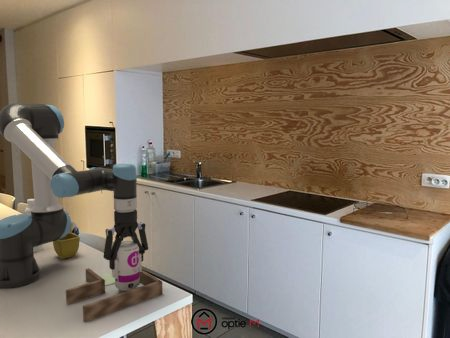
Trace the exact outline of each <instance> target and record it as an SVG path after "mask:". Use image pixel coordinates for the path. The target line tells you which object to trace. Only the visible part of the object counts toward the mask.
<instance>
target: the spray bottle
mask: <svg viewBox="0 0 450 338" xmlns="http://www.w3.org/2000/svg"><path fill="white" fill-rule="evenodd" d="M26 202H27V203H26V204H27V207H26V208H25V209H23V214H29V215H30V216H31V209H32V208H33V207H34V206H35V202H34V198H28V199H27V200H26ZM43 245H44V244H43ZM43 245H39V246H36V247H33V251H34V253H37V252H41V251H42V250H43V248H44V247H43Z"/></svg>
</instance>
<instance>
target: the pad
mask: <svg viewBox="0 0 450 338" xmlns="http://www.w3.org/2000/svg"><path fill="white" fill-rule="evenodd" d="M99 276H100V277H101V278H103V279H104V280H105V287H107V286H111V285H115V278H113V277H112V272H110V273H105V274H102V275H99Z"/></svg>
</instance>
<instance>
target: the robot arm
mask: <svg viewBox="0 0 450 338" xmlns="http://www.w3.org/2000/svg"><path fill="white" fill-rule="evenodd" d="M64 127H65V120H64V115H63V114H62V112H61V111H60V110H59V109H58V107H56V106H55V105H51V104H46V103H22V102H14V103H10V104H7V105H5V106H4V107H2V109H1V110H0V134H1V136H2V137H3V138H4V139H5V140H6V141H8V142H9V143H13V144H14V145H16V147H17V148H19V149H20V150H21V152H22V153H24V155H25V156H27V157H28V158H29V159H30V161H31V162H30V163H31V174H32V175H31V176H32V188H33V199H34V202H35V206H34V207H33V208H32V209H31V216H30V215H29V214H24V213H18V214H14V215H10V216H5V217H3V218H1V219H0V288H1V289H11V288H12V289H14V288H18V287H23V286H27V285H29V284H32V283H34V282H36V281H37V280H39V279H40V277H41V269H40V267H39V265H38V263H37V260H36V257H35V252H34V251H33V247H36V246H39V245H45V244H48V243H53V241H57V240H59V239H61V238H63V237H65V236H66V235H67V234H68V233H70V230H71V227H72V219H71V216H70V215H69V213H68V211H66V210H65V209H64V206H63V205H61V203H59V201H60V200H59V198H60V199H63V198H72V197H75V196H79V195H80V196H81V195H84V194H91V193H95V192H101V191H109V192H113V210H114V212H113V220H114V221H113V222H114V225H113V227H112V228H105V244H104V250H103V255H102V256H103V258H104V259H105V260H106V261H108V262H109V263H108V264H109V269H110V270H111V273H112V277H113V278H115V279H118V263H117V260H116V259H115V258H116V255H117V252H118V250H119V247H120V245H121V242H123V241H124V239H126V238H128V237H130V238H131V241H133V242H135V243H137V245H138V247H139V272H142V270H143V269H142V263H143V261H144V254H145V253H146V251H148V250H149V245H148V239H147V233H146V223H144V222H138V210H137V208H138V198H137V197H138V195H137V182H138V181H137V178H138V177H137V167H136V165H135V164H134V163H115V164H114V165H113V166H112V168H107V167H101V166H100V167H99V166H97V167H90V168H89V169H88V170H86V169H85V170H80V171H79V170H76V169H75V168H74V166H72V165H71V164H70V163H69V161H67V160H66V159H65V158H64V157H63V156H62V155H60V153H58V151H56V146H55V145H56V142H57V141H58V140H59V134H61V133H62V132H63V130H64ZM137 229H138V234H139V237H138V234H137V232H136V231H137ZM115 233H116V235H115ZM114 235H115V236H114ZM114 238H115V239H114ZM139 239H140V240H139ZM113 240H114V241H113Z"/></svg>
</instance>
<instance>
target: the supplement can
mask: <svg viewBox="0 0 450 338" xmlns="http://www.w3.org/2000/svg"><path fill="white" fill-rule="evenodd" d="M115 259H116V260H117V263H118V279H115V283H114V286H115V288H117V289H118V290H119V291H123V292H126V291H129V290H132V289H135V288H138V287H139V285H140V284H141V283H140V275H139V247H138V245H137V243H135V242H133V240H125V241H124V240H123V241H122V242H121V245H120V247H119V250H118V252H117V255H116V258H115Z"/></svg>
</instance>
